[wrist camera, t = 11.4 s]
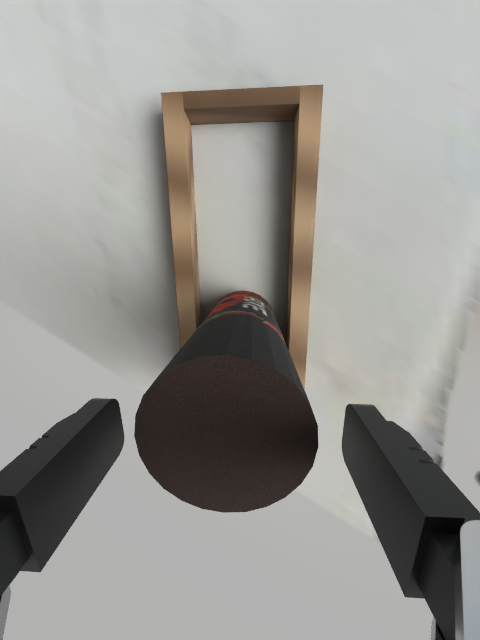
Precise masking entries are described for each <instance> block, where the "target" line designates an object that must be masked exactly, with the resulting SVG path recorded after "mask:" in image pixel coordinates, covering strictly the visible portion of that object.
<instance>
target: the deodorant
mask: <svg viewBox="0 0 480 640" xmlns="http://www.w3.org/2000/svg"><path fill="white" fill-rule="evenodd" d="M134 436H135V440H136V444H137V448H138V452H139V455H140V457H141V459H142V461H143V463H144V464H145V466H146V468H147V469H148V472H149V473H150V474H151V475H152V476H153V478H154V479H155V480H156V481H157V482H158V483H159V484H160V485H161V486H162V487H163V488H164V489H165V490H167V491H168V492H170V493H171V494H173V495H174V496H176V497H177V498H179V499H180V500H182V501H185V502H187V503H189V504H192V505H194V506H197V507H199V508H202V509H207V510H213V511H219V512H247V511H251V510H255V509H259V508H263V507H267V506H269V505H271V504H273V503H275V502H277V501H279V500H281V499H283V498H285V497H286V496H287V495H288V494H290V493H291V492H292V491H293V490H294V489H296V488H297V487H298V486H299V485H300V484H301V483H302V482H303V480H304V479H305V477H306V476H307V474H308V473H309V471H310V470H311V468H312V467H313V463H314V460H315V456H316V453H317V449H318V425H317V423H316V420H315V417H314V414H313V411H312V408H311V406H310V403H309V401H308V398H307V395H306V393H305V390H304V388H303V385H302V383H301V380H300V378H299V375H298V373H297V370H296V368H295V365H294V363H293V360H292V358H291V355H290V353H289V350H288V348H287V345H286V343H285V340H284V338H283V335H282V333H281V330H280V328H279V325H278V323H277V320H276V318H275V315H274V313H273V310H272V308H271V306H270V305H269V304H268V302H267V301H266V300H265V299H264V298H262V297H261V296H260V295H257V294H255V293H253V292H248V291H237V292H233V293H231V294H228V295H226V296H225V297H224V298H222V299H221V300H220V301H219V302H218V304H217V305H216V306H215V307H214V309H213V310H212V311H211V312H210V314H209V315H208V316H207V317H206V318H205V320H204V321H203V322H202V323H201V325H200V326H199V327H198V328H197V329H196V331H195V332H194V333H193V334H192V336H191V337H190V338H189V339H188V341H187V342H186V343H185V344H184V345H183V347H182V348H181V349H180V350H179V352H178V353H177V354H176V355H175V357H174V358H173V359H172V360H171V361H170V363H169V364H168V365H167V366H166V368H165V369H164V370H163V371H162V373H161V374H160V375H159V376H158V377H157V379H156V380H155V381H154V383H153V384H152V385H151V386H150V388H149V389H148V390H147V391H146V393H145V394H144V395H143V397H142V400H141V403H140V405H139V408H138V410H137V413H136V418H135V435H134Z"/></svg>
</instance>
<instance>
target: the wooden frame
mask: <svg viewBox="0 0 480 640" xmlns="http://www.w3.org/2000/svg"><path fill="white" fill-rule="evenodd" d="M161 96H162V110H163V123H164V136H165V150H166V163H167V176H168V189H169V203H170V216H171V229H172V243H173V256H174V269H175V282H176V296H177V309H178V322H179V335H180V349H181V348H182V347H183V345H184V344H185V343H186V342H187V341H188V339H189V338H190V337H191V336H192V334H193V333H194V332H195V331H196V329H197V328H198V327H199V326H200V325H201V311H200V292H199V273H198V253H197V234H196V214H195V195H194V175H193V156H192V137H191V125H200V124H223V123H247V122H270V121H294V120H295V125H294V151H293V176H292V202H291V228H290V253H289V279H288V305H287V330H286V345H287V348H288V350H289V353H290V355H291V358H292V360H293V363H294V365H295V368H296V370H297V373H298V375H299V378H300V380H301V383H302V385H303V388H304V387H305V371H306V355H307V339H308V323H309V307H310V290H311V274H312V258H313V242H314V226H315V210H316V193H317V177H318V161H319V145H320V129H321V113H322V96H323V85H307V86H287V87H267V88H248V89H228V90H208V91H188V92H168V93H161Z"/></svg>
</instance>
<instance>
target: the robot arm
mask: <svg viewBox="0 0 480 640" xmlns="http://www.w3.org/2000/svg"><path fill="white" fill-rule="evenodd" d="M123 443H124V431H123V425H122V419H121V413H120V407H119V403H118V401H117V400H116V399H97V398H95V399H91V400H90V401H88V402H87V403H86V404H85V405H84V406H83V407H82V408H81V409H79V410H78V411H77V412H76V413H74V414H72V415H70V416H68V417H67V418H65V419H63V420H61V421H60V422H58V423H56V424H55V425H54V426H53V427H52V428H51V429H49V430H48V431H47V432H46V433H45V434H44V435H42V438H39V439H38V440H37V441H35V442H34V443H33V444H32V445H31V446H30V448H29V449H26V450H25V451H24V452H23V453H21V454H20V455H19V456H18V457H16V458H15V459H14V460H13V461H12V462H11V463H9V464H8V465H7V466H6V467H5V468H4V469H3V470H1V471H0V640H3V634H4V629H5V623H6V618H7V613H8V607H9V602H10V595H11V590H10V586H9V585H10V583H11V582H12V581H13V579H14V578H15V577H16V575H17V574H18V572H19V571H31V572H41V571H42V569H43V567H44V566H45V565H46V563H47V561H48V560H49V559H50V557H51V556H52V554H53V553H54V551H55V550H56V548H57V547H58V545H59V544H60V542H61V541H62V539H63V538H64V536H65V535H66V533H67V532H68V530H69V529H70V527H71V526H72V524H73V523H74V521H75V520H76V519H77V517H78V515H79V514H80V513H81V511H82V510H83V508H84V507H85V505H86V503H87V502H88V501H89V499H90V498H91V496H92V495H93V493H94V492H95V490H96V489H97V487H98V486H99V484H100V483H101V481H102V480H103V478H104V477H105V475H106V474H107V472H108V471H109V469H110V468H111V466H112V465H113V463H114V462H115V460H116V459H117V458H118V456H119V454H120V452H121V450H122V447H123ZM342 452H343V457H344V461H345V463H346V466H347V468H348V470H349V472H350V475H351V477H352V479H353V481H354V484H355V486H356V488H357V490H358V493H359V495H360V497H361V499H362V502H363V504H364V506H365V508H366V511H367V513H368V515H369V517H370V520H371V522H372V524H373V526H374V529H375V531H376V533H377V535H378V538H379V540H380V542H381V544H382V547H383V549H384V551H385V553H386V555H387V558H388V560H389V562H390V564H391V567H392V569H393V571H394V573H395V576H396V578H397V580H398V582H399V584H400V587H401V589H402V591H403V594H404V596H405V597H413V598H425V600H426V602H427V604H428V606H429V608H430V610H431V612H432V614H433V616H434V617H433V620H432V626H431V640H480V513H479V511H478V510H477V509H476V508H475V507H474V506H473V505H472V504H471V502H470V501H469V500H468V499H467V498H466V497H465V496H464V494H463V493H462V492H461V491H460V490H459V489H458V488H457V487H456V485H455V484H454V483H453V482H452V481H451V480H450V479H449V477H448V476H447V475H446V474H445V473H444V472H443V471H442V469H441V468H440V467H439V466H438V465H437V464H434V462H433V459H432V458H431V457H430V456H429V455H428V454H427V452H426V451H423V449H422V447H421V446H420V445H419V443H418V442H417V441H416V440H415V439H414V438H413V437H412V435H411V434H410V433H409V432H407V431H406V430H404V429H403V428H401V427H400V426H398V425H397V424H396V423H394V422H393V421H386V420H385V418H384V417H383V416H382V415H381V413H380V412H379V411H378V410H377V408H376V407H375V406H374V405H364V404H348V405H347V407H346V411H345V420H344V428H343V437H342Z"/></svg>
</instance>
